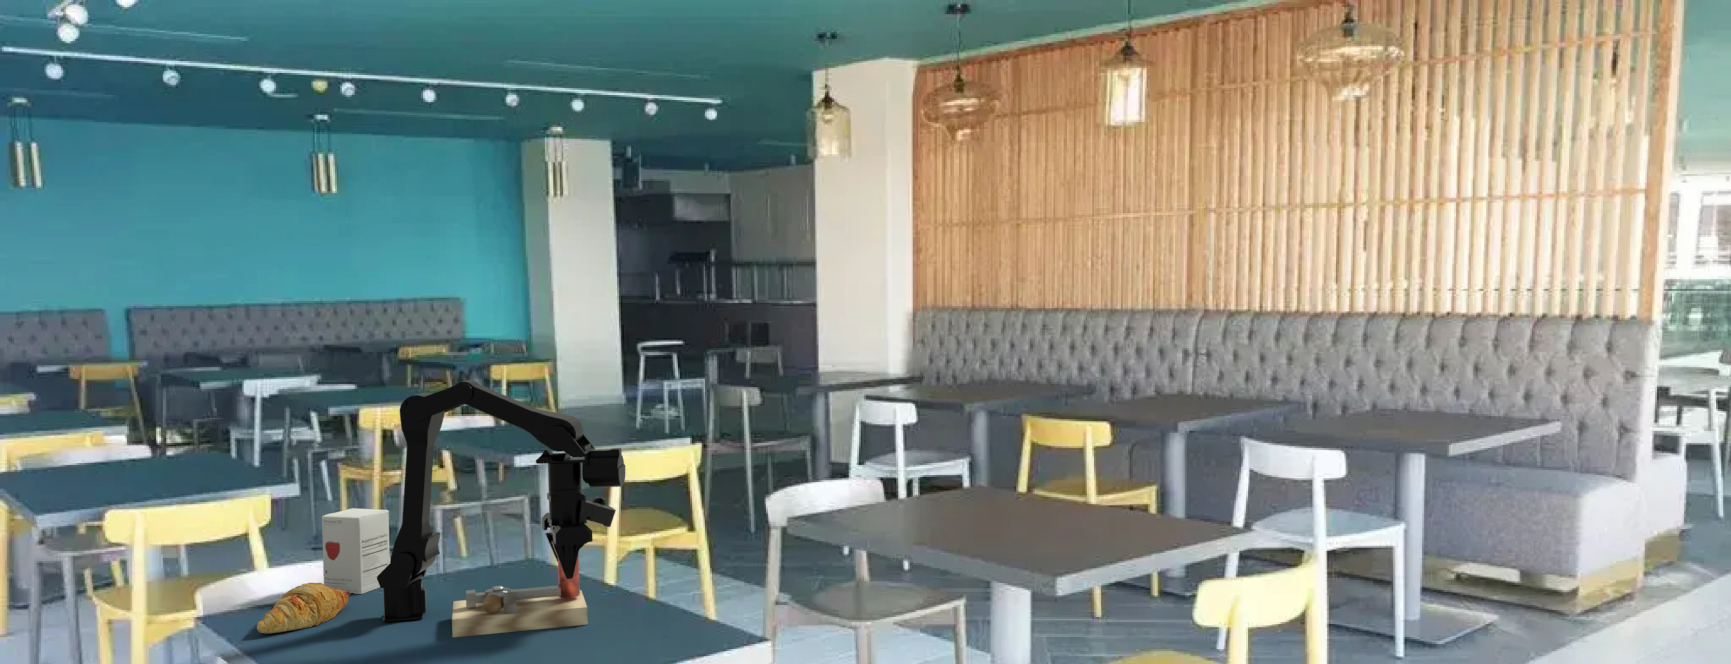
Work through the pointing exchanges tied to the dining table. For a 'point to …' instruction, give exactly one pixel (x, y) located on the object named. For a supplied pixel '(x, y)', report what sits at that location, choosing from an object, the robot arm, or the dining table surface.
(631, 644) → the dining table surface
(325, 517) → the supplement box
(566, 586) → the lever
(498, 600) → the walnut
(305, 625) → the croissant
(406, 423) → the robot arm
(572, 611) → the block
